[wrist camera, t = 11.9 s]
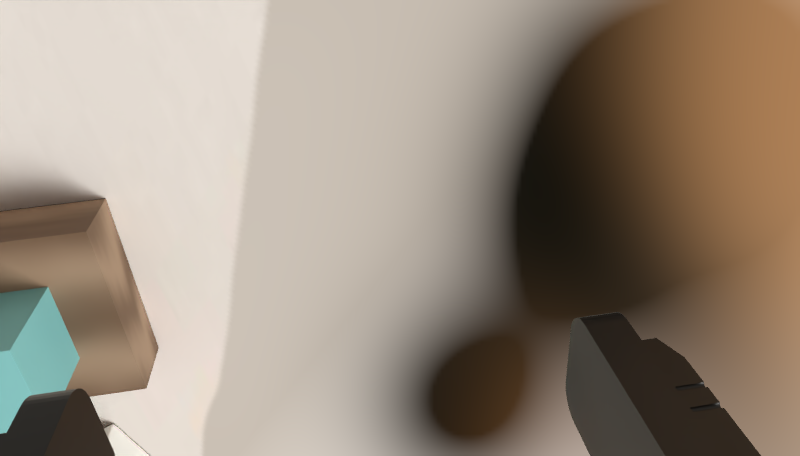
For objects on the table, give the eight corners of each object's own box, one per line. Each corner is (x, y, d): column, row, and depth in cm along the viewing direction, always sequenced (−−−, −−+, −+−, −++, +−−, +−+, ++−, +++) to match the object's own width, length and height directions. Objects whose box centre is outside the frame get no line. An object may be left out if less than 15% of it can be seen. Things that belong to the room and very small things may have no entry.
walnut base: (-102, 223, 37) (-143, 260, 34) (105, 198, 38) (86, 231, 34) (-19, 372, 43) (-46, 416, 40) (158, 347, 44) (146, 388, 41)
